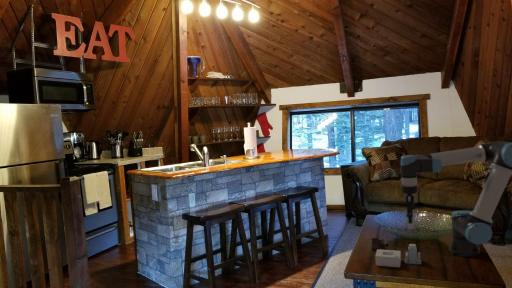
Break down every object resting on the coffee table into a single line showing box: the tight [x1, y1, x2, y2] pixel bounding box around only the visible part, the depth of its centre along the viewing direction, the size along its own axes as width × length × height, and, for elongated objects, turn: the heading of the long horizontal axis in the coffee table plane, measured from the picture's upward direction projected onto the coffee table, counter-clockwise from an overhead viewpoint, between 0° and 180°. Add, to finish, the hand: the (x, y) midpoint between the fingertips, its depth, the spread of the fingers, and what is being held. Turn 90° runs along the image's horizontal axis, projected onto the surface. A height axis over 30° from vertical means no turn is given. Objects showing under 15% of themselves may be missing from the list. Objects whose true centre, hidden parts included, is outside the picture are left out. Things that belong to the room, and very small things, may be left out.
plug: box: [407, 243, 418, 263], centre depth 209 cm, size 4×3×9 cm
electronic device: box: [371, 237, 390, 252], centre depth 230 cm, size 4×10×8 cm, turn 44°
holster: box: [404, 251, 422, 265], centre depth 209 cm, size 8×6×5 cm
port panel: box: [374, 249, 402, 268], centre depth 210 cm, size 12×10×6 cm
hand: (411, 225), depth 208 cm, fingers open, 13 cm apart
